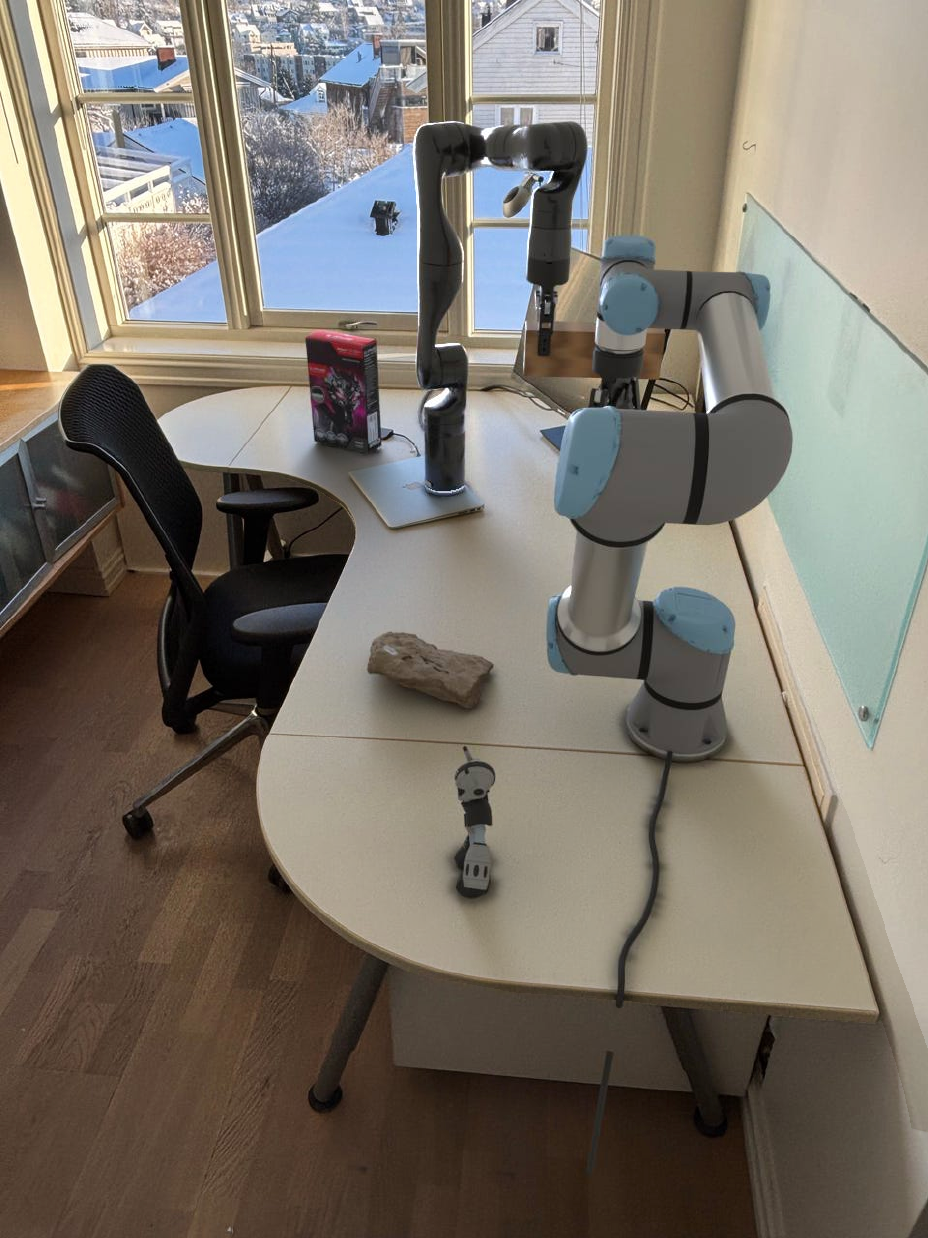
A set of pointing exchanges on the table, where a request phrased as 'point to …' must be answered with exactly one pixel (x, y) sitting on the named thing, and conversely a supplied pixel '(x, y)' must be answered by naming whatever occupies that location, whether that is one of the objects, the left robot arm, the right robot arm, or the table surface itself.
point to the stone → (429, 668)
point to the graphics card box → (344, 390)
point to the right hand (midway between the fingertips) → (605, 475)
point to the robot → (474, 825)
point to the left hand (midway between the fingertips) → (542, 349)
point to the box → (581, 351)
